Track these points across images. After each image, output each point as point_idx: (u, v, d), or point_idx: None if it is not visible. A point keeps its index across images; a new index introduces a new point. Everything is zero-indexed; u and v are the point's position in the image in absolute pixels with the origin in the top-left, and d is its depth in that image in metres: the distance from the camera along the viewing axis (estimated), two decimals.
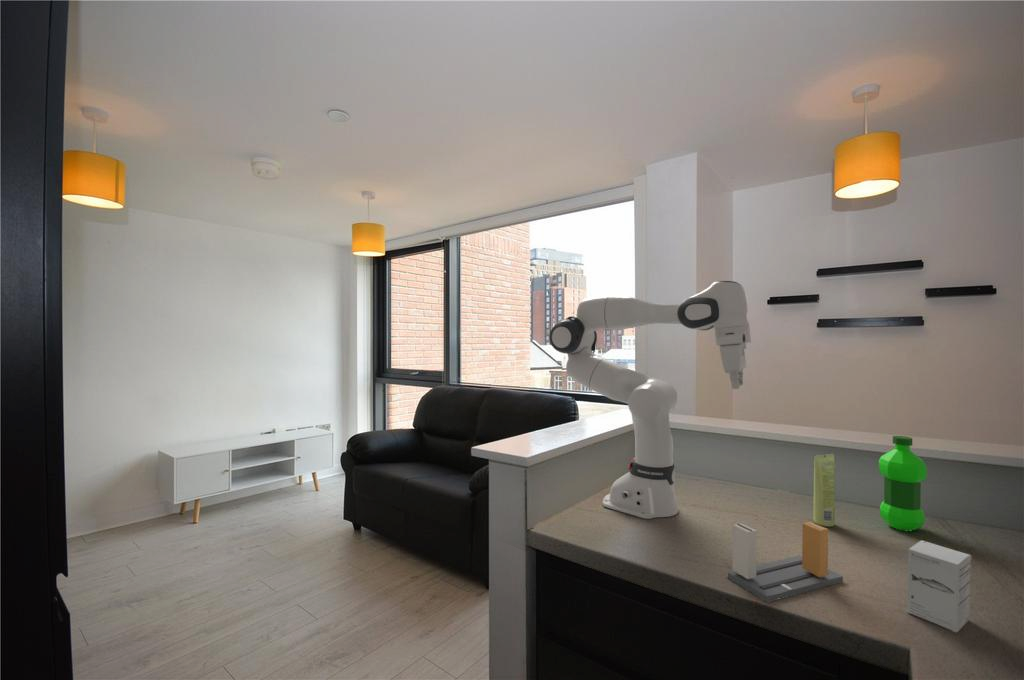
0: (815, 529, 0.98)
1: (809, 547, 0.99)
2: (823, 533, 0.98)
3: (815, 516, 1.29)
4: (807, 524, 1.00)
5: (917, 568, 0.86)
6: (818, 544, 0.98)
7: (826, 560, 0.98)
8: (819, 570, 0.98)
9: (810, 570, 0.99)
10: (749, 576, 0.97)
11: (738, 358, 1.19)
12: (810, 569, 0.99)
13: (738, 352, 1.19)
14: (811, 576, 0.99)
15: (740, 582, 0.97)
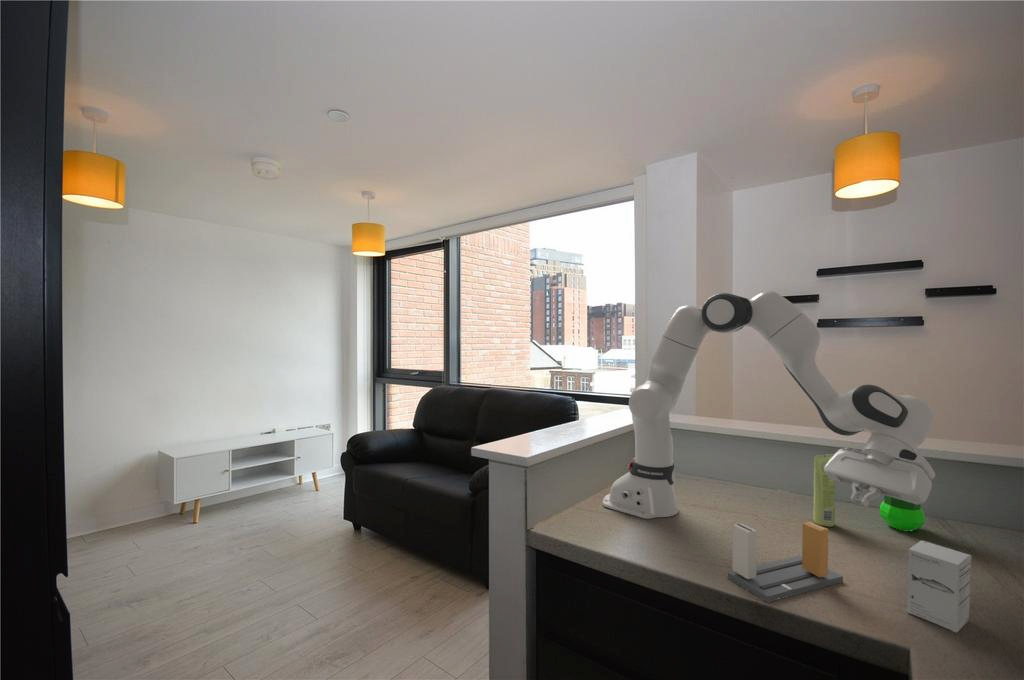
0: (815, 529, 0.98)
1: (809, 547, 0.99)
2: (823, 533, 0.98)
3: (815, 516, 1.29)
4: (807, 524, 1.00)
5: (917, 568, 0.86)
6: (818, 544, 0.98)
7: (826, 560, 0.98)
8: (819, 570, 0.98)
9: (810, 570, 0.99)
10: (749, 576, 0.97)
11: None
12: (810, 569, 0.99)
13: (931, 487, 0.98)
14: (811, 576, 0.99)
15: (740, 582, 0.97)
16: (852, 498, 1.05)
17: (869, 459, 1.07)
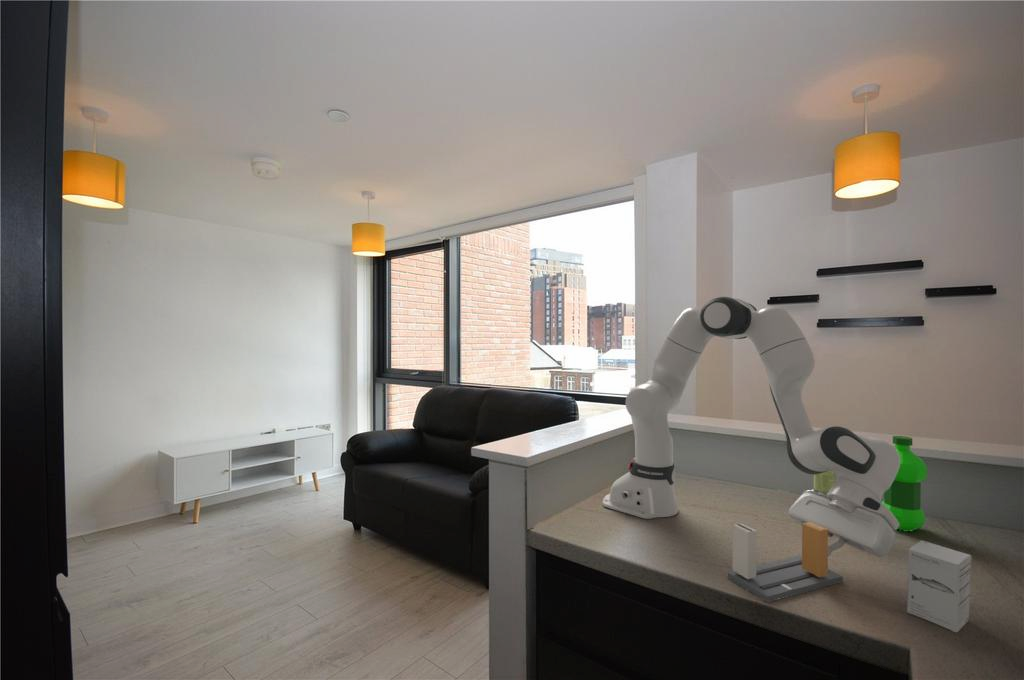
0: (815, 529, 0.98)
1: (809, 547, 0.99)
2: (823, 533, 0.98)
3: None
4: (807, 524, 1.00)
5: (917, 568, 0.86)
6: (818, 544, 0.98)
7: (825, 560, 0.98)
8: (818, 570, 0.97)
9: (810, 570, 0.99)
10: (749, 576, 0.97)
11: (891, 545, 0.94)
12: (810, 569, 0.99)
13: (894, 539, 0.94)
14: (811, 576, 0.99)
15: (740, 582, 0.97)
16: None
17: (833, 505, 1.03)
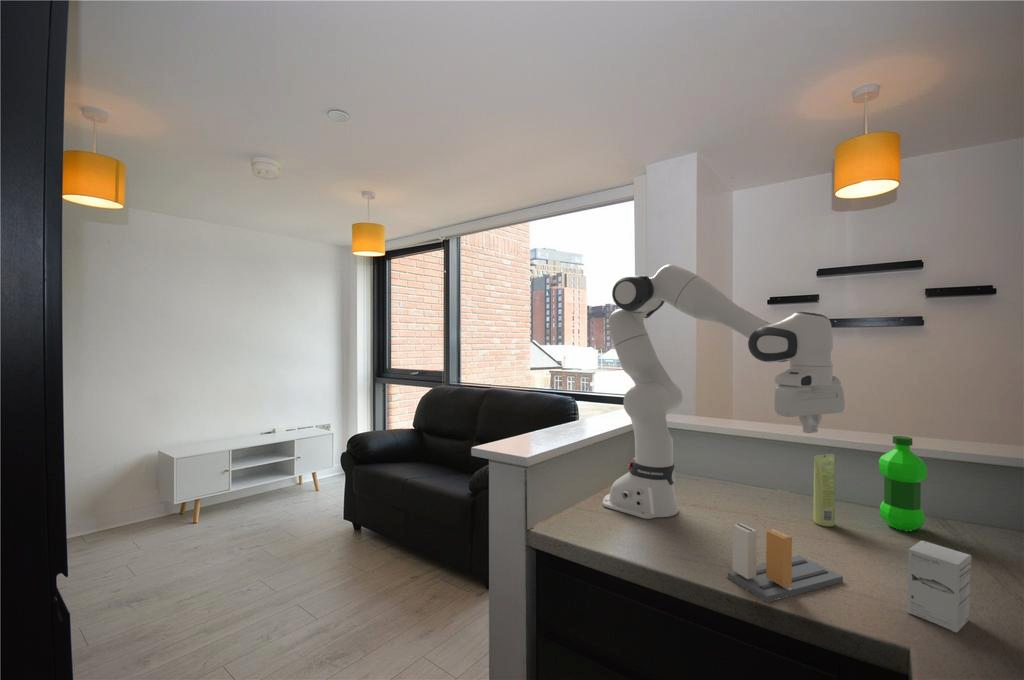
0: (778, 537, 0.95)
1: (773, 555, 0.96)
2: (787, 541, 0.94)
3: (815, 516, 1.29)
4: (771, 531, 0.97)
5: (917, 568, 0.86)
6: (781, 553, 0.94)
7: (789, 569, 0.94)
8: (782, 580, 0.94)
9: (774, 579, 0.96)
10: (749, 576, 0.97)
11: (788, 402, 1.09)
12: (774, 578, 0.96)
13: (790, 395, 1.08)
14: (811, 576, 0.99)
15: (740, 582, 0.97)
16: None
17: None
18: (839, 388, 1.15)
